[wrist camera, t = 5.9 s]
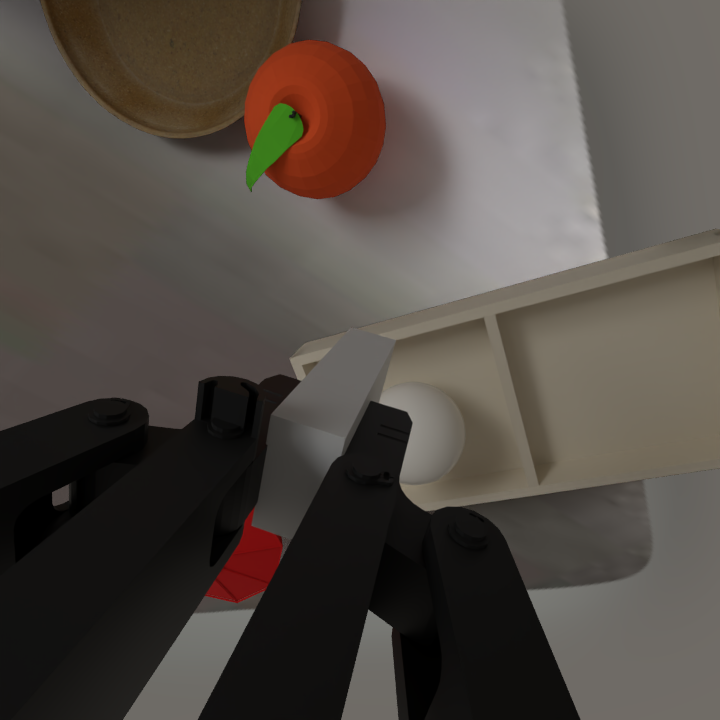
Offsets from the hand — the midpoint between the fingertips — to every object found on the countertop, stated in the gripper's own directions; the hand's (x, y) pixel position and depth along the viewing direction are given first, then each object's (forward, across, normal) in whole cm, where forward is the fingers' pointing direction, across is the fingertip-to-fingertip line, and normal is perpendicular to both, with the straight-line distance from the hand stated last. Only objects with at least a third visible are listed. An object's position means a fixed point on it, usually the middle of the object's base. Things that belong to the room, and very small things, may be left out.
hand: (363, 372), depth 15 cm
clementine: (+14, -7, +7) cm, 17 cm away
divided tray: (+15, +7, -4) cm, 17 cm away
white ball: (+14, +2, -7) cm, 16 cm away
